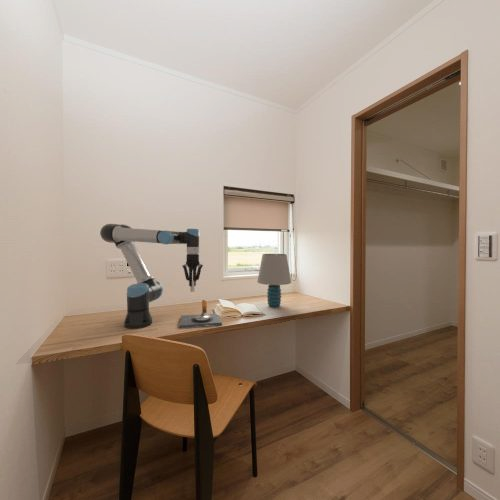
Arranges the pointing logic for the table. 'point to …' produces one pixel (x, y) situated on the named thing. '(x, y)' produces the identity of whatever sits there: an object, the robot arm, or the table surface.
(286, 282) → the lamp
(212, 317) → the panel
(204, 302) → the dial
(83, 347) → the table surface
